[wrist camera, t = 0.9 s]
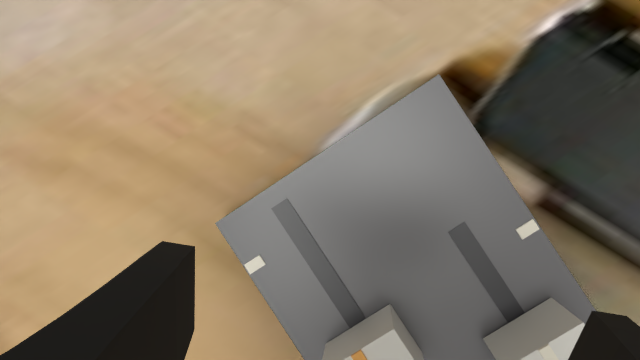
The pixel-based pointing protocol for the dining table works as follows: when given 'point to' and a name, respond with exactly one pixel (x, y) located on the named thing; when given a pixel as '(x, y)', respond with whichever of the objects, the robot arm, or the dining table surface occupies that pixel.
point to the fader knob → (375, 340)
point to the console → (401, 236)
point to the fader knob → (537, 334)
